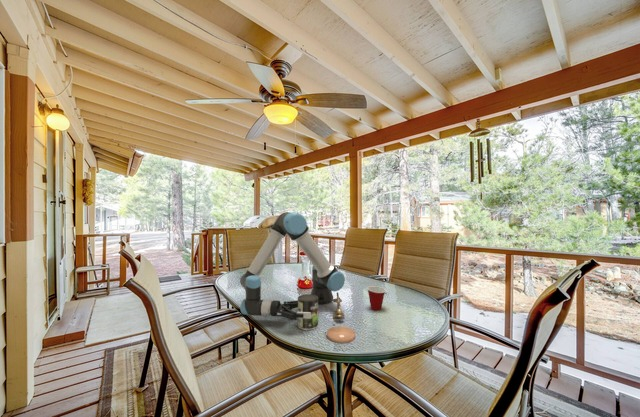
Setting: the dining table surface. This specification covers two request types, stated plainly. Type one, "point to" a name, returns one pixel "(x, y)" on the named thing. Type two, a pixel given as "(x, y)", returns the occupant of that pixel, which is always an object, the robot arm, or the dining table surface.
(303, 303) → the coffee can
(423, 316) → the dining table surface
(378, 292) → the plastic cup
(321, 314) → the dining table surface
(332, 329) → the dish
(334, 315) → the balance
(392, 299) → the dining table surface
